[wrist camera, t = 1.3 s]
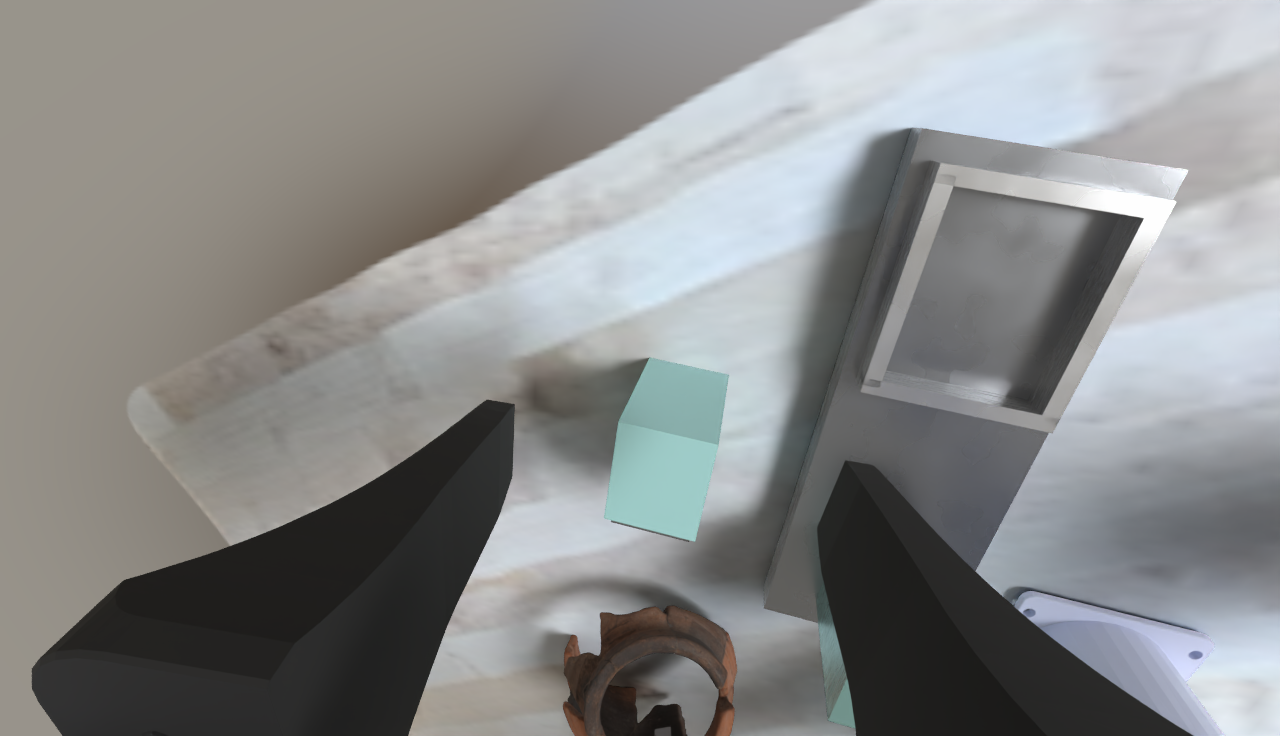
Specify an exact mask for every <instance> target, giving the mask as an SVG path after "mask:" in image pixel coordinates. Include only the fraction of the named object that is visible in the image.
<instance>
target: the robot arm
mask: <svg viewBox="0 0 1280 736" xmlns="http://www.w3.org/2000/svg"><path fill="white" fill-rule="evenodd" d="M514 412H515V404H509V403H504V402H498V401H492V400H486V401H484V402H483V403H482V404H480V405H479V406H478V407H476V408H475V409H474V410H472V411H471V412H470V413H468V414H467V415H466V416H465V417H463V418H462V419H461V420H460V421H458V422H457V423H456V424H454V425H453V426H452V427H450V428H449V429H448V430H446V431H445V432H444V433H443V434H441V435H440V436H438V437H437V438H436V439H434V440H433V441H432V442H430V443H429V444H427V445H426V446H425V447H423V448H422V449H421V450H419V451H418V452H416V453H415V454H413V455H412V456H410V457H409V458H407V459H406V460H404V461H403V462H401V463H400V464H398V465H397V466H395V467H394V468H392V469H391V470H389V471H387V472H386V473H384V474H383V475H381V476H380V477H378V478H376V479H375V480H373V481H371V482H370V483H368V484H366V485H364V486H363V487H361V488H359V489H357V490H355V491H353V492H352V493H350V494H348V495H346V496H344V497H342V498H340V499H339V500H337V501H335V502H333V503H331V504H329V505H327V506H324V507H322V508H320V509H318V510H316V511H313V512H311V513H309V514H307V515H305V516H303V517H300V518H298V519H296V520H294V521H292V522H289V523H287V524H285V525H283V526H281V527H278V528H276V529H273V530H271V531H268V532H266V533H263V534H261V535H258V536H256V537H253V538H251V539H248V540H246V541H243V542H240V543H238V544H235V545H232V546H229V547H227V548H224V549H221V550H219V551H216V552H213V553H210V554H208V555H204V556H201V557H198V558H195V559H192V560H188V561H185V562H182V563H179V564H176V565H172V566H169V567H166V568H163V569H160V570H156V571H153V572H150V573H147V574H144V575H140V576H137V577H133V578H130V579H126V580H124V581H123V582H121V583H120V584H119V585H118V586H117V587H116V588H114V589H113V590H112V591H111V592H110V593H109V594H108V595H107V596H106V597H105V598H104V599H102V600H101V601H100V602H99V603H98V604H97V605H96V606H95V607H94V608H93V609H92V610H91V611H90V612H89V613H88V614H86V615H85V616H84V617H83V618H82V619H81V620H80V621H79V622H78V623H77V624H76V625H75V626H74V627H73V628H72V629H70V630H69V631H68V632H67V633H66V634H65V635H64V636H63V637H62V638H61V639H60V640H59V641H58V642H57V643H56V644H54V645H53V646H52V647H51V648H50V649H49V650H48V651H47V652H46V653H45V654H44V655H43V656H42V657H41V658H40V659H39V660H38V661H37V663H36V664H35V665H34V667H33V668H32V690H33V691H34V693H35V696H36V697H37V700H38V702H39V703H40V705H41V706H42V708H43V709H44V710H45V712H46V713H47V714H48V716H49V717H50V719H51V720H52V722H53V723H54V724H55V726H56V727H57V728H58V730H59V731H60V733H61V734H62V736H408V734H409V731H410V728H411V725H412V722H413V719H414V716H415V714H416V711H417V708H418V705H419V702H420V699H421V697H422V694H423V691H424V688H425V685H426V682H427V680H428V677H429V674H430V671H431V668H432V666H433V663H434V660H435V657H436V655H437V652H438V649H439V647H440V644H441V641H442V638H443V636H444V633H445V630H446V628H447V625H448V623H449V621H450V618H451V616H452V614H453V611H454V609H455V607H456V605H457V603H458V601H459V598H460V596H461V594H462V592H463V590H464V588H465V586H466V584H467V582H468V580H469V578H470V576H471V574H472V572H473V570H474V568H475V565H476V563H477V561H478V559H479V557H480V555H481V553H482V551H483V549H484V547H485V545H486V543H487V541H488V539H489V536H490V534H491V532H492V530H493V528H494V526H495V524H496V522H497V520H498V517H499V515H500V512H501V509H502V506H503V503H504V500H505V497H506V494H507V491H508V488H509V485H510V482H511V479H512V470H513V441H514ZM817 536H818V547H819V557H820V565H821V573H822V577H823V581H824V586H825V590H826V594H827V598H828V602H829V607H830V611H831V615H832V619H833V623H834V627H835V631H836V635H837V639H838V643H839V647H840V651H841V655H842V659H843V663H844V667H845V671H846V675H847V680H848V685H849V690H850V695H851V701H852V708H853V715H854V722H855V729H856V736H1225V734H1224V733H1223V732H1222V730H1221V729H1220V728H1219V726H1218V725H1217V724H1216V722H1215V721H1214V719H1213V718H1212V717H1211V715H1210V714H1209V713H1208V711H1207V710H1206V709H1205V707H1204V706H1203V705H1202V703H1201V702H1200V701H1199V699H1198V698H1197V696H1196V695H1195V694H1194V692H1193V691H1192V690H1191V688H1190V687H1189V686H1188V684H1187V683H1186V682H1187V681H1188V680H1189V678H1190V677H1191V676H1192V675H1193V674H1194V672H1195V671H1196V670H1197V669H1198V668H1199V667H1200V665H1201V664H1202V663H1203V662H1204V661H1205V659H1206V658H1207V657H1208V656H1209V655H1210V653H1211V652H1212V651H1213V650H1214V648H1215V643H1214V642H1213V641H1212V640H1211V638H1210V637H1209V636H1208V635H1206V634H1204V633H1200V632H1196V631H1192V630H1188V629H1184V628H1180V627H1176V626H1172V625H1168V624H1164V623H1160V622H1156V621H1152V620H1148V619H1144V618H1140V617H1136V616H1132V615H1128V614H1124V613H1120V612H1116V611H1112V610H1108V609H1104V608H1100V607H1096V606H1092V605H1088V604H1084V603H1080V602H1075V601H1071V600H1067V599H1063V598H1059V597H1055V596H1051V595H1047V594H1043V593H1039V592H1035V591H1028V592H1025V593H1022V594H1021V595H1020V596H1019V598H1018V600H1017V601H1016V603H1015V605H1014V606H1013V605H1012V604H1010V603H1009V602H1008V601H1007V600H1006V599H1005V598H1003V597H1002V596H1001V595H1000V594H999V593H998V592H997V591H996V590H994V589H993V588H992V587H991V586H990V585H989V584H988V583H987V582H986V581H985V580H984V579H983V578H982V577H980V576H979V575H978V574H977V573H976V572H975V571H974V570H973V569H972V568H971V567H970V566H969V565H968V564H967V563H966V562H965V561H964V560H963V559H962V558H961V557H960V556H959V555H958V554H957V553H956V552H955V551H954V550H953V549H952V548H951V547H950V546H949V545H948V544H947V543H946V542H945V541H944V540H943V539H942V538H941V537H940V536H939V535H938V534H937V533H936V532H935V530H934V529H933V528H932V527H931V526H930V525H929V524H928V523H927V522H926V521H925V520H924V519H923V518H922V517H921V515H920V514H919V513H918V512H917V511H916V510H915V509H914V508H913V507H912V506H911V505H910V503H909V502H908V501H907V500H906V499H905V498H904V497H903V496H902V495H901V494H900V492H899V491H898V490H897V489H896V488H895V487H894V486H893V485H892V484H891V483H890V482H889V480H888V479H887V478H886V477H885V476H884V475H883V474H882V473H881V472H880V471H879V470H878V469H877V468H876V467H875V466H874V465H870V464H864V463H858V462H853V461H847V460H845V462H844V464H843V467H842V469H841V472H840V474H839V476H838V479H837V481H836V484H835V486H834V488H833V491H832V493H831V495H830V498H829V500H828V503H827V505H826V507H825V510H824V512H823V515H822V517H821V519H820V522H819V524H818V527H817ZM1026 609H1030V610H1027V611H1024V610H1026Z"/></svg>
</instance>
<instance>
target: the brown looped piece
mask: <svg viewBox="0 0 1280 736" xmlns="http://www.w3.org/2000/svg"><path fill="white" fill-rule="evenodd" d="M600 619H601V632H600V633H601V653H600V655H599V656H597V655H594V654H592V653H584V654H580V651H579V647H578V640H577V636H575V635H572V636H571V637H570V640H569V642H568V644H567V647H566V648H565V652H564V666H565V668H564V674H565V676H566V678H567V681H568V685H569V688H570V696H569V698H568V702H564V704H563V710H564V713H565V716H566V718H567V721H568V723H569V726H570V728H571V730H572V732H573V733H574V735H575V736H687V734H686V729H685V720H684V718H683V717H682V711H681V707H680V706H679V705H678V704H671V705H656V706H654V707H653V709H652V710H651V712H650V713H649V714H648V715H646V716H645V718H644V719H643V720H642V721H641V722H639V723H637V708H636V705H635V703H636V689H635V688H628V687H625V688H623V687H619V686H613V685H610V684H609V683H610V682H611V680H612V679H613V677H614V676H615V674H616V673H617V672H618V671H619V670H621V669H622V668H623V667H624V666H626V665H627V664H629V663H631V662H633V661H635V660H636V659H638V658H641V657H643V656H646V655H650V654H653V653H675V654H677V655H681V656H684V657H687V658H689V659H691V660H693V661H694V662H696V663H698V664H699V665H700V666H701V667H702V668H703V669H704V670H705V671H706V672H707V673H708V674H709V676H710V678H711V679H712V681H713V683H714V685H715V686H716V688H717V689H719V697H718V701H717V704H716V710H715V715H714V718H713V721H712V723H711V725H710V728H709V729H708V731H707V733H706V734H705V736H730V734H731V731H732V725H733V721H734V712H735V709H734V707H733V705H732V701H733V693H734V688H733V683H734V680H735V676H736V673H737V664H736V658H735V653H734V648H733V645H732V642H731V639H730V637H729V634H728V633H727V632H725V631H724V629H723V628H721V627H719V626H718V625H716V624H715V623H713V622H712V621H710V620H708V619H706V618H704V617H702V616H700V615H698V614H696V613H693V612H691V611H688V610H684V609H681V608H678V607H676V606H667V607H666V608H665V610H664V611H663V612H662V611H661V610H660V609H659V608H658V607H649V608H644V609H642V610H640V611H637V612H633V613H629V614H624V615H615V614H612V613H603V612H602V613H600Z"/></svg>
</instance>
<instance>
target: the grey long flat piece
mask: <svg viewBox="0 0 1280 736" xmlns="http://www.w3.org/2000/svg"><path fill="white" fill-rule="evenodd" d="M1187 172H1188V170H1185V169H1178V168H1172V167H1166V166H1159V165H1153V164H1146V163H1140V162H1134V161H1127V160H1121V159H1114V158H1108V157H1102V156H1095V155H1089V154H1083V153H1076V152H1070V151H1063V150H1057V149H1051V148H1044V147H1038V146H1032V145H1025V144H1019V143H1012V142H1006V141H1000V140H993V139H987V138H980V137H974V136H968V135H961V134H955V133H949V132H942V131H936V130H929V129H923V128H911V131H910V134H909V137H908V140H907V143H906V147H905V150H904V153H903V156H902V159H901V162H900V165H899V168H898V171H897V175H896V178H895V181H894V184H893V187H892V190H891V193H890V196H889V199H888V202H887V206H886V209H885V212H884V215H883V218H882V221H881V224H880V227H879V230H878V233H877V237H876V240H875V243H874V246H873V249H872V252H871V255H870V258H869V261H868V264H867V268H866V271H865V274H864V277H863V280H862V283H861V286H860V289H859V292H858V296H857V299H856V302H855V305H854V308H853V311H852V314H851V317H850V320H849V323H848V327H847V330H846V333H845V336H844V339H843V342H842V345H841V348H840V351H839V354H838V358H837V361H836V364H835V367H834V370H833V373H832V376H831V379H830V382H829V385H828V389H827V392H826V395H825V398H824V401H823V404H822V407H821V410H820V413H819V417H818V420H817V423H816V426H815V429H814V432H813V435H812V438H811V441H810V444H809V448H808V451H807V454H806V457H805V460H804V463H803V466H802V469H801V472H800V475H799V479H798V482H797V485H796V488H795V491H794V494H793V497H792V500H791V503H790V506H789V510H788V513H787V516H786V519H785V522H784V525H783V528H782V531H781V534H780V538H779V541H778V544H777V547H776V550H775V553H774V556H773V559H772V562H771V565H770V569H769V572H768V575H767V578H766V581H765V584H764V608H765V609H768V610H772V611H776V612H780V613H783V614H787V615H791V616H795V617H798V618H802V619H806V620H809V621H813V622H817V623H818V626H819V636H820V646H821V656H822V666H823V676H824V687H825V697H826V707H827V717H828V721H831V722H834V723H838V724H841V725H844V726H848V727H851V728H855V722H854V715H853V708H852V701H851V695H850V690H849V685H848V680H847V675H846V671H845V667H844V663H843V659H842V655H841V651H840V647H839V643H838V639H837V635H836V631H835V627H834V623H833V619H832V615H831V611H830V607H829V602H828V598H827V594H826V590H825V586H824V581H823V577H822V573H821V565H820V557H819V547H818V536H817V527H818V524H819V522H820V519H821V517H822V515H823V512H824V510H825V507H826V505H827V503H828V500H829V498H830V495H831V493H832V491H833V488H834V486H835V484H836V481H837V479H838V476H839V474H840V472H841V469H842V467H843V464H844V462H845V460H847V461H853V462H858V463H864V464H870V465H874V466H875V467H876V468H877V469H878V470H879V471H880V472H881V473H882V474H883V475H884V476H885V477H886V478H887V479H888V480H889V482H890V483H891V484H892V485H893V486H894V487H895V488H896V489H897V490H898V491H899V492H900V494H901V495H902V496H903V497H904V498H905V499H906V500H907V501H908V502H909V503H910V505H911V506H912V507H913V508H914V509H915V510H916V511H917V512H918V513H919V514H920V515H921V517H922V518H923V519H924V520H925V521H926V522H927V523H928V524H929V525H930V526H931V527H932V528H933V529H934V530H935V532H936V533H937V534H938V535H939V536H940V537H941V538H942V539H943V540H944V541H945V542H946V543H947V544H948V545H949V546H950V547H951V548H952V549H953V550H954V551H955V552H956V553H957V554H958V555H959V556H960V557H961V558H962V559H963V560H964V561H965V562H966V563H967V564H968V565H969V566H970V567H971V568H972V569H973V570H974V571H976V569H977V567H978V565H979V563H980V561H981V559H982V558H983V556H984V554H985V552H986V550H987V548H988V546H989V544H990V543H991V541H992V539H993V537H994V535H995V533H996V531H997V529H998V527H999V526H1000V524H1001V522H1002V520H1003V518H1004V516H1005V514H1006V512H1007V511H1008V509H1009V507H1010V505H1011V503H1012V501H1013V499H1014V497H1015V496H1016V494H1017V492H1018V490H1019V488H1020V486H1021V484H1022V482H1023V480H1024V479H1025V477H1026V475H1027V473H1028V471H1029V469H1030V467H1031V465H1032V464H1033V462H1034V460H1035V458H1036V456H1037V454H1038V452H1039V450H1040V448H1041V447H1042V445H1043V443H1044V441H1045V439H1046V437H1047V435H1048V433H1053V431H1054V430H1055V428H1056V426H1057V424H1058V422H1059V420H1060V418H1061V416H1062V415H1063V413H1064V411H1065V409H1066V407H1067V405H1068V403H1069V401H1070V400H1071V398H1072V396H1073V394H1074V392H1075V390H1076V388H1077V387H1078V385H1079V383H1080V381H1081V379H1082V377H1083V375H1084V373H1085V372H1086V370H1087V368H1088V366H1089V364H1090V362H1091V360H1092V358H1093V357H1094V355H1095V353H1096V351H1097V349H1098V347H1099V345H1100V344H1101V342H1102V340H1103V338H1104V336H1105V334H1106V332H1107V330H1108V329H1109V327H1110V325H1111V323H1112V321H1113V319H1114V317H1115V316H1116V314H1117V312H1118V310H1119V308H1120V306H1121V304H1122V302H1123V301H1124V299H1125V297H1126V295H1127V293H1128V291H1129V289H1130V287H1131V286H1132V284H1133V282H1134V280H1135V278H1136V276H1137V274H1138V273H1139V271H1140V269H1141V267H1142V265H1143V263H1144V261H1145V259H1146V258H1147V256H1148V254H1149V252H1150V250H1151V248H1152V246H1153V244H1154V243H1155V241H1156V239H1157V237H1158V235H1159V233H1160V231H1161V230H1162V228H1163V226H1164V224H1165V222H1166V220H1167V218H1168V216H1169V215H1170V213H1171V211H1172V209H1173V207H1174V205H1175V203H1176V202H1177V201H1172V200H1173V198H1174V196H1175V195H1176V193H1177V191H1178V189H1179V187H1180V185H1181V183H1182V181H1183V179H1184V178H1185V176H1186V174H1187Z"/></svg>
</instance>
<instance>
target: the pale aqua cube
mask: <svg viewBox="0 0 1280 736" xmlns="http://www.w3.org/2000/svg"><path fill="white" fill-rule="evenodd" d="M728 377H729V375H727V374H722V373H718V372H713V371H709V370H704V369H699V368H695V367H690V366H686V365H681V364H677V363H672V362H667V361H663V360H658V359H654V358H649V360H648V362H647V364H646V366H645V368H644V370H643V372H642V374H641V376H640V378H639V380H638V382H637V384H636V387H635V389H634V391H633V393H632V395H631V397H630V399H629V401H628V403H627V405H626V407H625V409H624V411H623V413H622V415H621V417H620V419H619V421H618V427H617V434H616V441H615V448H614V454H613V461H612V468H611V475H610V481H609V488H608V495H607V502H606V508H605V515H604V519H608V520H611V522H613V523H617V524H621V525H625V526H629V527H633V528H637V529H641V530H645V531H649V532H652V533H656V534H660V535H664V536H668V537H672V538H676V539H680V540H684V541H688V542H689V540H690V541H694V542H695V540H696V536H697V532H698V528H699V524H700V519H701V515H702V511H703V507H704V503H705V499H706V494H707V490H708V486H709V482H710V478H711V474H712V470H713V465H714V461H715V457H716V453H717V449H718V444H719V438H720V431H721V424H722V418H723V411H724V404H725V397H726V391H727V384H728Z"/></svg>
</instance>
